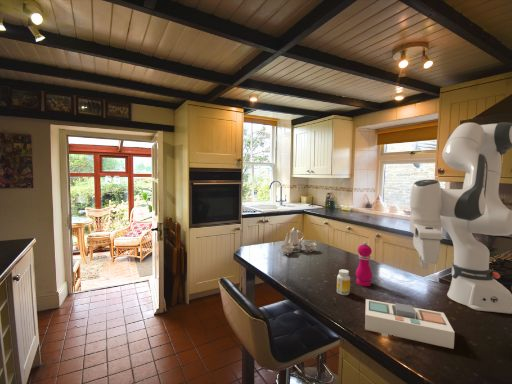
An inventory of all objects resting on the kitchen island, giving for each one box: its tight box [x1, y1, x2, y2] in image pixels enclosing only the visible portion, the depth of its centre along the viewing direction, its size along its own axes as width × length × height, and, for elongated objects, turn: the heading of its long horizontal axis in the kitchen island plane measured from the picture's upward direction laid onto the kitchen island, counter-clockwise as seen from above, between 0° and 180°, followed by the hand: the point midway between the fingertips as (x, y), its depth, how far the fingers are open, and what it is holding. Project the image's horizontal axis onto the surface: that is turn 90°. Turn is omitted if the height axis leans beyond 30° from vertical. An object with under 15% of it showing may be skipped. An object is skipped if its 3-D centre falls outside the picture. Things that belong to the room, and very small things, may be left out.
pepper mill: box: [355, 241, 373, 287], centre depth 123 cm, size 7×7×20 cm
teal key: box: [370, 303, 387, 314], centre depth 91 cm, size 5×5×3 cm
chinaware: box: [278, 226, 318, 255], centre depth 174 cm, size 28×17×17 cm, turn 120°
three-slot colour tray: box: [364, 298, 456, 350], centre depth 87 cm, size 24×12×5 cm, turn 67°
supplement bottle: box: [336, 269, 351, 296], centre depth 113 cm, size 5×5×10 cm
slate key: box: [394, 302, 415, 319], centre depth 87 cm, size 5×5×3 cm
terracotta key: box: [422, 312, 445, 325], centre depth 84 cm, size 5×5×3 cm
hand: (423, 267), depth 90 cm, fingers closed
